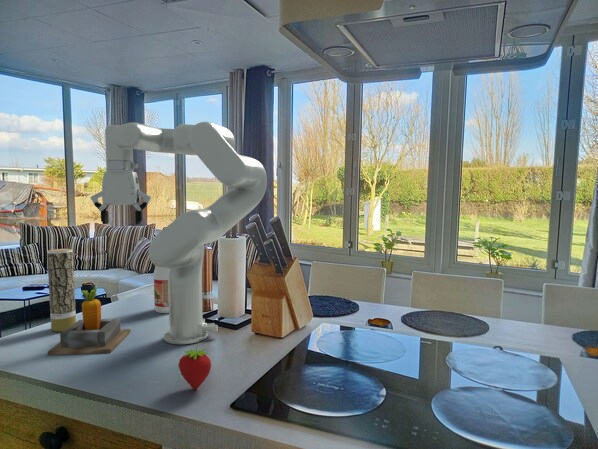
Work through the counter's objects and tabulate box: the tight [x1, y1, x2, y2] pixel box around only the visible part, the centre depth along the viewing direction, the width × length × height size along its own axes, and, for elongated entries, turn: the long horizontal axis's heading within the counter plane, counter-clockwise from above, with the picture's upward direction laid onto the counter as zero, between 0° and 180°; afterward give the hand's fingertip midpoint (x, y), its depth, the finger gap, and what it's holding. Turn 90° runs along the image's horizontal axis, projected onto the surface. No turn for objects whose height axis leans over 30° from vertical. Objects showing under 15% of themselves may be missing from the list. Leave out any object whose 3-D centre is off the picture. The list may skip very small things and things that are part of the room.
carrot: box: [81, 286, 102, 330], centre depth 113 cm, size 5×5×15 cm
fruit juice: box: [153, 265, 170, 314], centre depth 145 cm, size 9×9×28 cm
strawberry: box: [177, 342, 212, 390], centre depth 87 cm, size 6×8×10 cm
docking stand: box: [47, 318, 131, 356], centre depth 114 cm, size 16×16×5 cm
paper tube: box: [46, 248, 77, 333], centre depth 125 cm, size 7×7×25 cm
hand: (122, 223), depth 122 cm, fingers open, 9 cm apart
